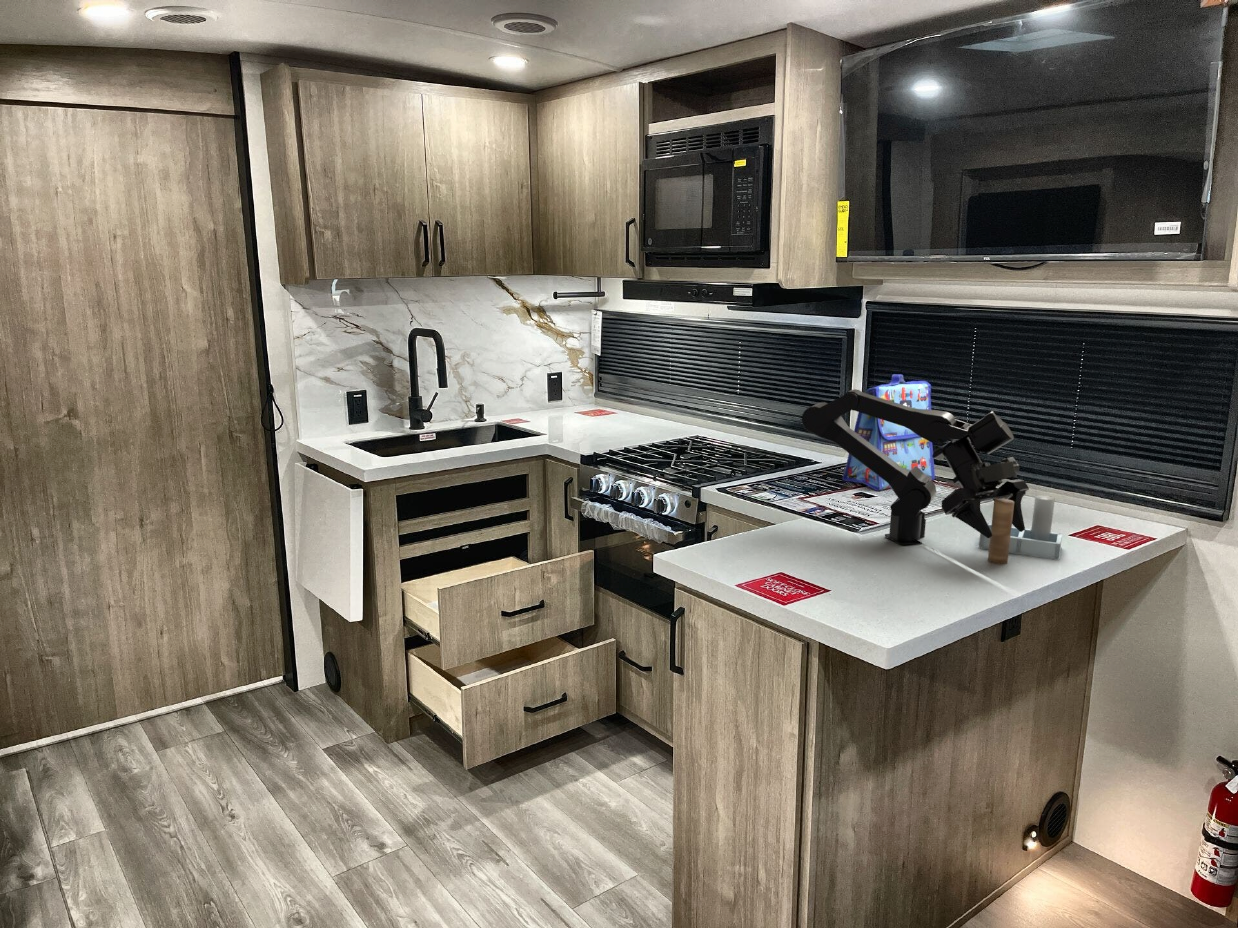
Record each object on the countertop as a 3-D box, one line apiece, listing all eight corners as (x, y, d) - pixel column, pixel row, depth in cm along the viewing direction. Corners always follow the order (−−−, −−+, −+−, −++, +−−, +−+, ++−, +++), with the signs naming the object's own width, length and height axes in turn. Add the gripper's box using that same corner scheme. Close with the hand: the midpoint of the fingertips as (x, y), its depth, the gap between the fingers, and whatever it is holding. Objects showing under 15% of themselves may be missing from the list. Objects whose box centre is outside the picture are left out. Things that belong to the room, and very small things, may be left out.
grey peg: (1037, 553, 180) (1044, 501, 177) (1025, 548, 183) (1031, 496, 181) (1052, 552, 181) (1058, 499, 178) (1039, 546, 184) (1045, 495, 182)
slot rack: (977, 551, 183) (979, 533, 183) (983, 539, 191) (985, 522, 190) (1058, 563, 177) (1060, 545, 176) (1060, 550, 184) (1063, 532, 183)
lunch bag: (880, 492, 228) (888, 380, 221) (840, 480, 239) (847, 373, 232) (936, 481, 239) (946, 373, 233) (896, 470, 250) (904, 368, 244)
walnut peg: (995, 568, 174) (1002, 504, 171) (983, 562, 177) (990, 499, 174) (1011, 566, 175) (1018, 502, 172) (998, 560, 178) (1005, 498, 175)
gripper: (958, 448, 170) (1000, 519, 163) (1026, 439, 178) (1068, 507, 171) (923, 479, 178) (962, 548, 171) (990, 469, 187) (1029, 534, 180)
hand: (1006, 533), depth 173 cm, fingers open, 9 cm apart
